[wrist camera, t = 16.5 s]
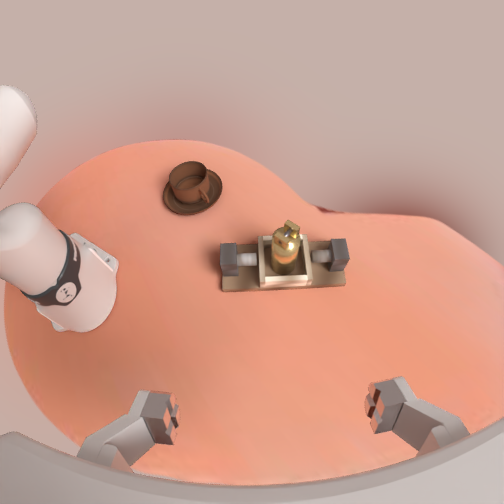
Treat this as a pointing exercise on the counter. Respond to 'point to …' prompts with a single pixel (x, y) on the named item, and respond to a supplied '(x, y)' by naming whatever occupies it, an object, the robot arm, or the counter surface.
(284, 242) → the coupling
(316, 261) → the shaft stand
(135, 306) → the counter surface
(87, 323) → the robot arm
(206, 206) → the cup and saucer
